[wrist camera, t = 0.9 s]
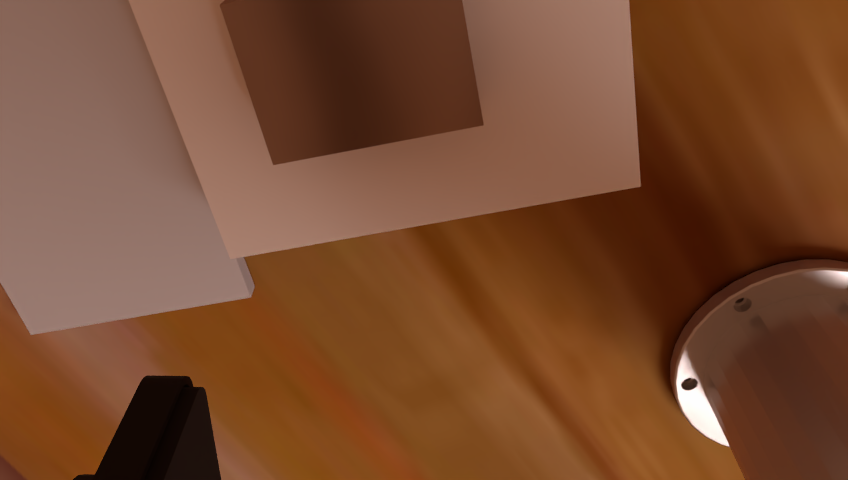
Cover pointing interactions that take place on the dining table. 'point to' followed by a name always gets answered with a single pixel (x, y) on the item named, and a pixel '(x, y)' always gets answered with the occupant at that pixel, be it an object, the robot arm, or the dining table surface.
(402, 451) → the dining table surface
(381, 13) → the tile
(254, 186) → the deck
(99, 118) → the mat
